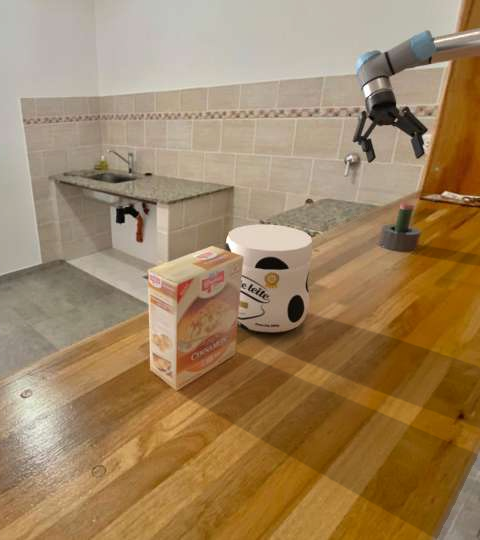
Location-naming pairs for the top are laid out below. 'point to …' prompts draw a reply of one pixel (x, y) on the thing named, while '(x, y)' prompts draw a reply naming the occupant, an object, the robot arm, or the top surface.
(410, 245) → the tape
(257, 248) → the milk container
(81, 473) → the top surface
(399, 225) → the green marker pen
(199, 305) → the coffeecake box
